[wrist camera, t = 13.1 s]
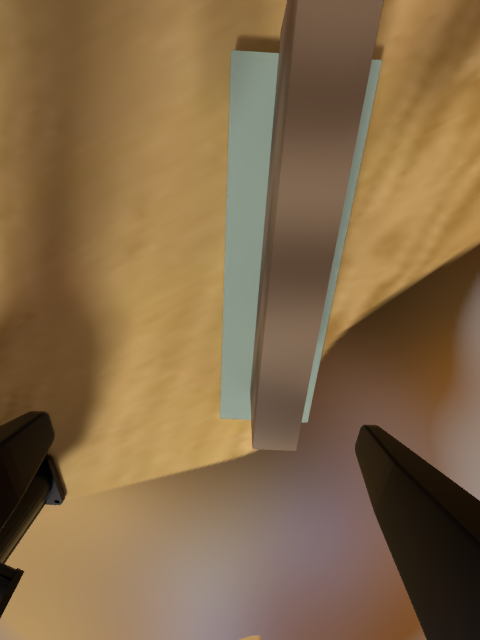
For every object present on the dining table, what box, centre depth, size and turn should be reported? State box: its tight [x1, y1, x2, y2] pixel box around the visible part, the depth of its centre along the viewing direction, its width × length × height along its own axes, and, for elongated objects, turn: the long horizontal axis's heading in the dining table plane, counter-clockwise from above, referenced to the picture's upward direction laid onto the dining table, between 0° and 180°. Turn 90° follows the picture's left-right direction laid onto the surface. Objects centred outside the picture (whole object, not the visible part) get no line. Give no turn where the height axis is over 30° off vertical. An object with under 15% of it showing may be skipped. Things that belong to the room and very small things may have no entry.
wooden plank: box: [250, 0, 384, 451], centre depth 13 cm, size 20×2×5 cm, turn 177°
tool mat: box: [220, 50, 382, 422], centre depth 16 cm, size 22×7×1 cm, turn 177°
